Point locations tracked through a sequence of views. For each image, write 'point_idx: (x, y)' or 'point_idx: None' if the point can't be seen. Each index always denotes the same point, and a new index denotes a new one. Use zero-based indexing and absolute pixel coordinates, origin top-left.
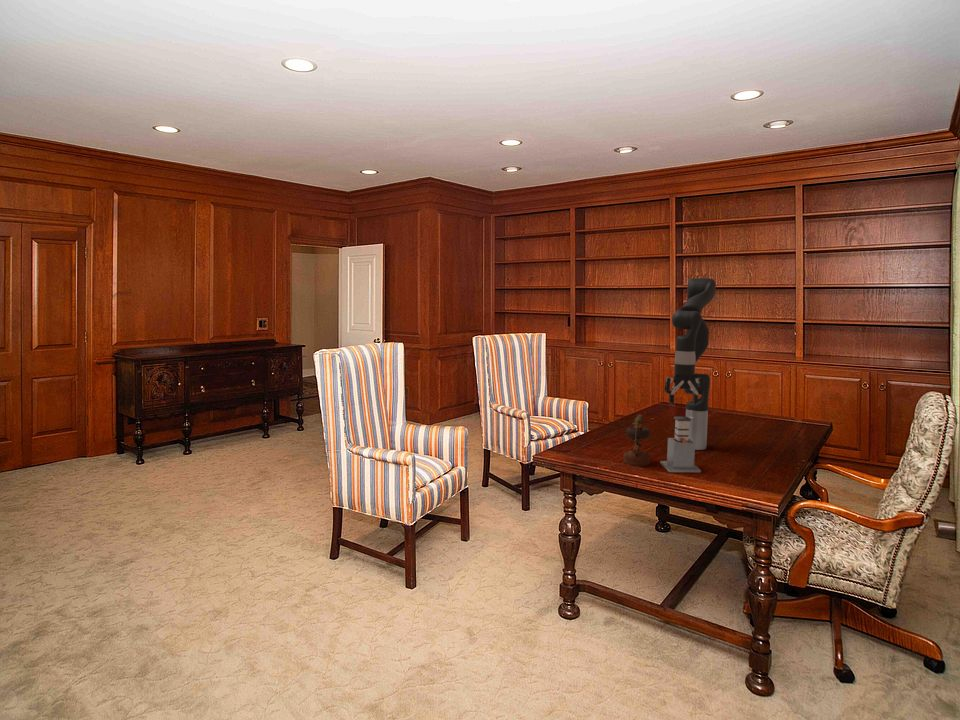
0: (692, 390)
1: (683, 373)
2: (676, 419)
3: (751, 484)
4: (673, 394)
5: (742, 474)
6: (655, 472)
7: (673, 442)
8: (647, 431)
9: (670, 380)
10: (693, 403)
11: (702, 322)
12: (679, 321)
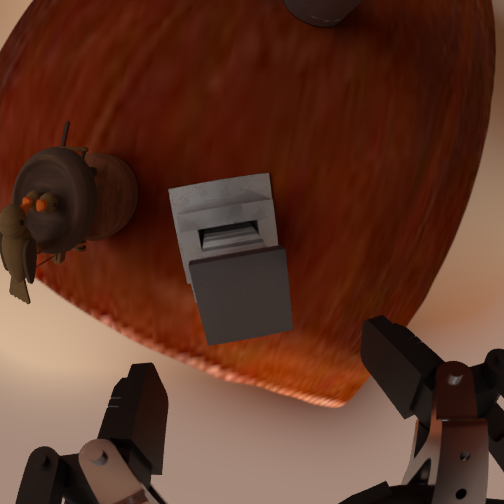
0: (411, 463)
1: None
2: (202, 317)
3: (362, 326)
4: (151, 474)
5: (375, 256)
6: (150, 289)
7: (193, 293)
8: (78, 232)
9: None
10: (364, 347)
11: None
12: None
